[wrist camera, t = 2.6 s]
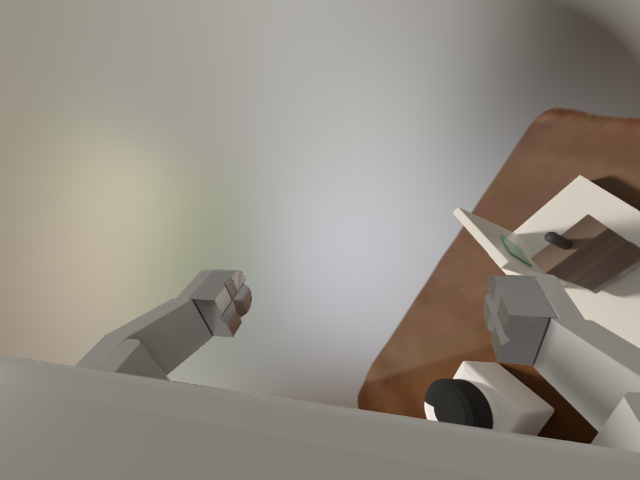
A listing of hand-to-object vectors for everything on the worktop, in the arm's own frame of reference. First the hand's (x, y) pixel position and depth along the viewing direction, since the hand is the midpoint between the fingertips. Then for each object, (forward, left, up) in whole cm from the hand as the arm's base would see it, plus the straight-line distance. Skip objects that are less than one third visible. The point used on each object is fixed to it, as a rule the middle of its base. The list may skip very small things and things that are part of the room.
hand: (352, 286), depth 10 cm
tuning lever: (+4, -5, -31) cm, 31 cm away
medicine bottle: (+7, +14, -35) cm, 38 cm away
